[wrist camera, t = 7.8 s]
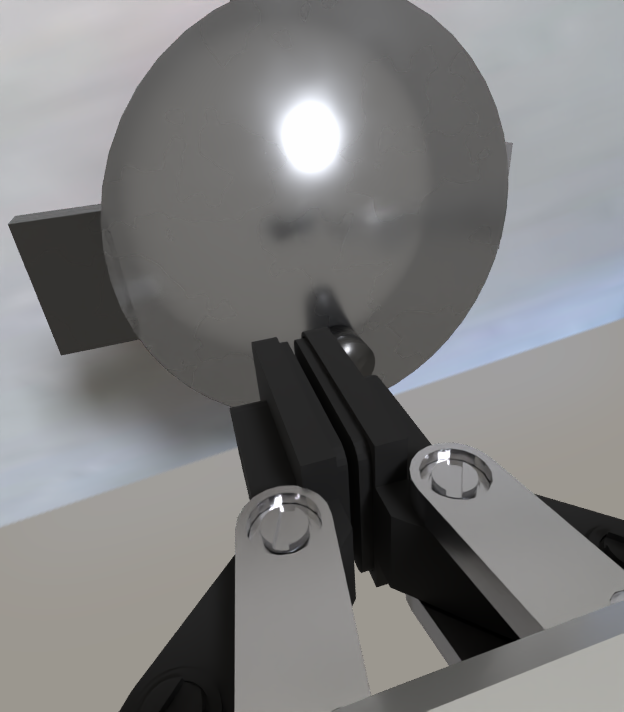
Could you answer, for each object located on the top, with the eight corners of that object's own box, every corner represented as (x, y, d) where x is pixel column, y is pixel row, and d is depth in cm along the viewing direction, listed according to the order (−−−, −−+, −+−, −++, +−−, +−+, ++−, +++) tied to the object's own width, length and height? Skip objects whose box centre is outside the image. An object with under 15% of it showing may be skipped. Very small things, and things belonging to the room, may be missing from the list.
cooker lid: (516, -24, 18) (577, -42, 15) (471, 359, 27) (506, 387, 24) (-69, 1, 13) (-115, -18, 11) (109, 453, 22) (106, 499, 20)
